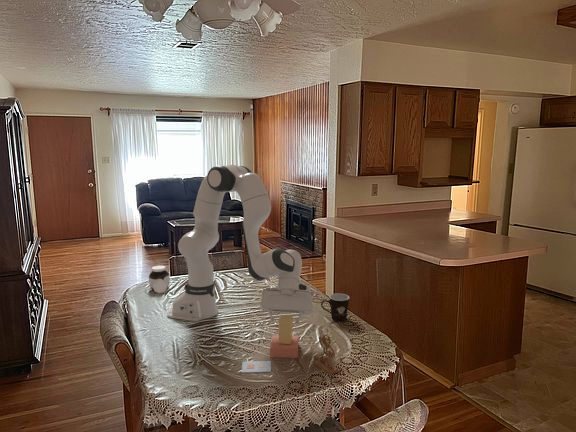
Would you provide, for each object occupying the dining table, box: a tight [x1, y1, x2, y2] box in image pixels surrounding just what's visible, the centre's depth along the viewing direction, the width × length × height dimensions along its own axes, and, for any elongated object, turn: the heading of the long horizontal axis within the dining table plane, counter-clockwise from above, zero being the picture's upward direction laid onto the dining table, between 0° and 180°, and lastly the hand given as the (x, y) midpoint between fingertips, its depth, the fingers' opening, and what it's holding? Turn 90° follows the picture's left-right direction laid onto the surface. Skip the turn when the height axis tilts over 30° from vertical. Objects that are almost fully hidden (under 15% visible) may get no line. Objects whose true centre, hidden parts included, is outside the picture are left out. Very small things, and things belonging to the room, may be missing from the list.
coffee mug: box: [320, 293, 350, 323], centre depth 189 cm, size 12×9×10 cm
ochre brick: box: [278, 315, 294, 344], centre depth 160 cm, size 4×4×9 cm
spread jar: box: [148, 265, 171, 294], centre depth 225 cm, size 12×11×12 cm
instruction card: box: [240, 360, 272, 374], centre depth 149 cm, size 10×7×1 cm
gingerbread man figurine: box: [314, 334, 340, 376], centre depth 148 cm, size 9×4×12 cm, turn 33°
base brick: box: [269, 335, 299, 359], centre depth 161 cm, size 10×10×4 cm
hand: (284, 322), depth 162 cm, fingers open, 8 cm apart
